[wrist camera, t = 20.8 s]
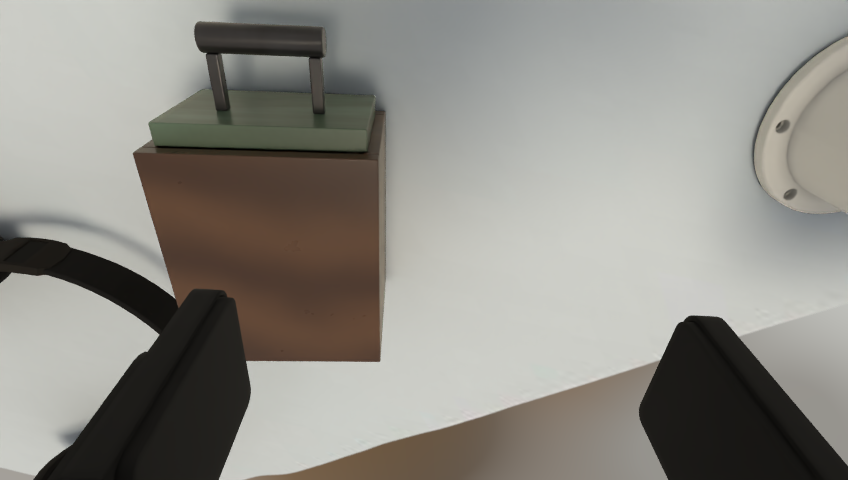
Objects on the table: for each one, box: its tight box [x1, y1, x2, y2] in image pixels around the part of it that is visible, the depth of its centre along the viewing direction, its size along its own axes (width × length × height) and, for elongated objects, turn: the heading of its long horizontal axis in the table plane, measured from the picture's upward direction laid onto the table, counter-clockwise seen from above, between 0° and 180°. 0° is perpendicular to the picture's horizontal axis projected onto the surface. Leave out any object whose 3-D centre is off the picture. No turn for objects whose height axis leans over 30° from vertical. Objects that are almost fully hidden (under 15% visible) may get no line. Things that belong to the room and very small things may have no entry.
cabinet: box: [133, 111, 386, 362], centre depth 29 cm, size 14×12×9 cm
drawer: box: [149, 21, 375, 154], centre depth 27 cm, size 17×10×7 cm, turn 177°
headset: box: [0, 237, 178, 480], centre depth 35 cm, size 28×26×9 cm
